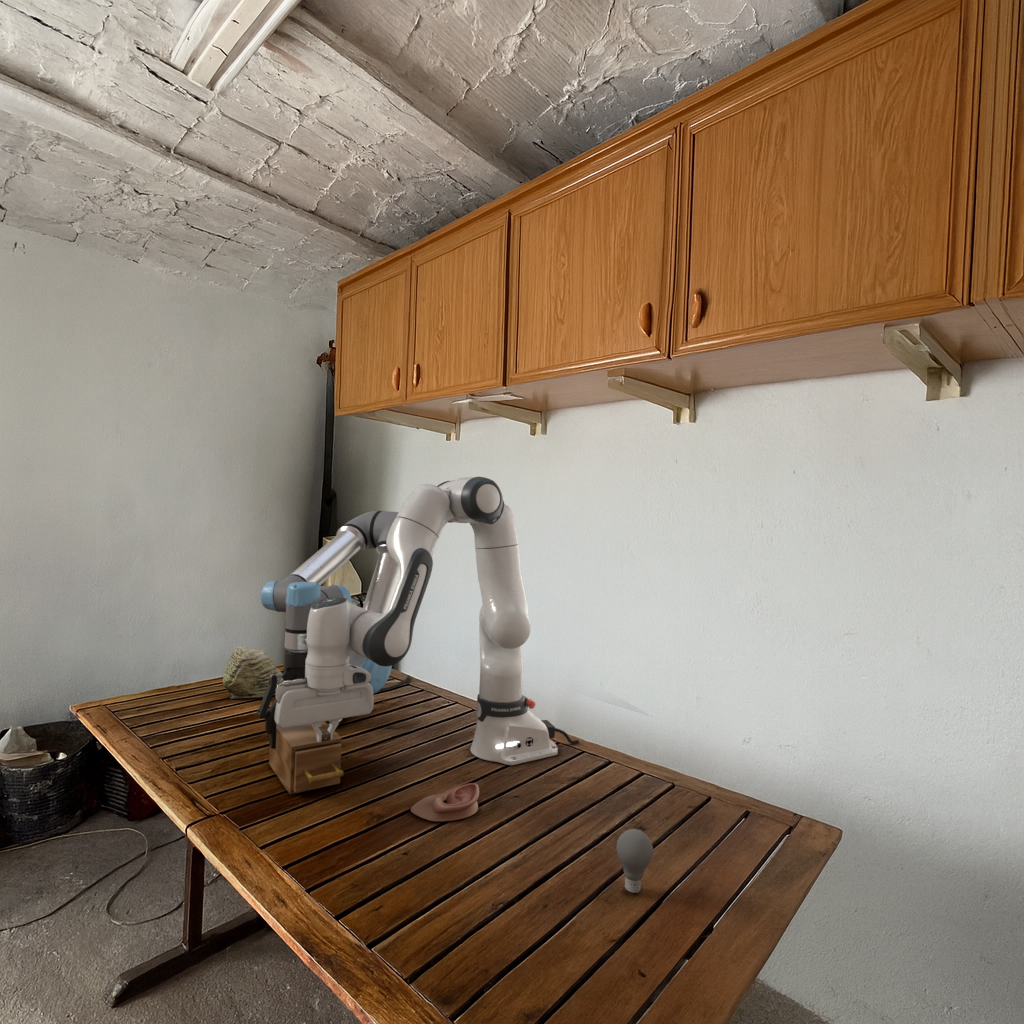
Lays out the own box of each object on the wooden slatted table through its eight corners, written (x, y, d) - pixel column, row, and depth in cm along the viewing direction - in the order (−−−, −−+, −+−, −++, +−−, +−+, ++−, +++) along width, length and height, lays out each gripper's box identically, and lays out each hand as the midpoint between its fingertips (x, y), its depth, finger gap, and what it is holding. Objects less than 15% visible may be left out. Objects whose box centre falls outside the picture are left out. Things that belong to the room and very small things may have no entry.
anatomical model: (405, 797, 126) (424, 773, 137) (404, 817, 126) (424, 792, 138) (469, 807, 124) (484, 782, 135) (468, 827, 124) (483, 800, 135)
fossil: (218, 695, 195) (220, 647, 195) (278, 685, 208) (279, 640, 207) (228, 703, 189) (230, 653, 188) (289, 692, 201) (290, 645, 201)
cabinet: (339, 783, 140) (341, 737, 140) (289, 794, 134) (291, 746, 134) (315, 755, 155) (316, 713, 154) (268, 764, 148) (270, 720, 148)
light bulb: (610, 879, 108) (613, 822, 108) (644, 879, 109) (647, 822, 109) (619, 902, 102) (622, 840, 102) (655, 901, 103) (658, 840, 103)
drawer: (348, 792, 134) (350, 753, 134) (302, 803, 129) (304, 762, 128) (316, 756, 152) (317, 721, 152) (274, 764, 146) (276, 728, 146)
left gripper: (252, 657, 138) (248, 757, 139) (355, 647, 152) (351, 738, 152) (244, 650, 144) (241, 745, 145) (344, 641, 158) (340, 728, 158)
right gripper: (280, 685, 124) (277, 755, 125) (377, 673, 136) (375, 737, 136) (271, 677, 130) (269, 744, 130) (366, 666, 141) (364, 727, 142)
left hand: (297, 742), depth 148 cm, fingers closed on cabinet, 11 cm apart
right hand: (324, 740), depth 133 cm, fingers closed
